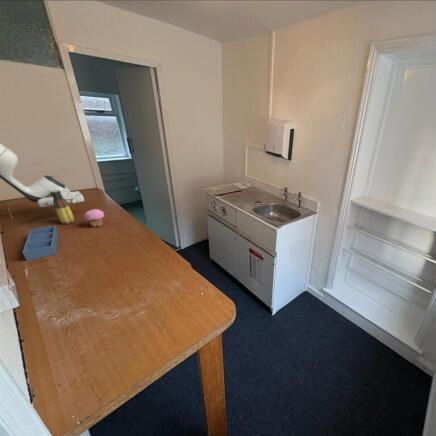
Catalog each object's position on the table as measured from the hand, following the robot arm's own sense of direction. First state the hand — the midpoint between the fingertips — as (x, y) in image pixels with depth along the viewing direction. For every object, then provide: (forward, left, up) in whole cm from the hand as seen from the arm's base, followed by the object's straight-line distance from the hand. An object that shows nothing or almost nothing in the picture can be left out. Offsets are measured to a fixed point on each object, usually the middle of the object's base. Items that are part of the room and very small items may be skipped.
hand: (61, 203), depth 136 cm
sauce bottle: (0, -4, -11) cm, 12 cm away
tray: (-8, -31, -11) cm, 34 cm away
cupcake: (+13, -18, -11) cm, 25 cm away
